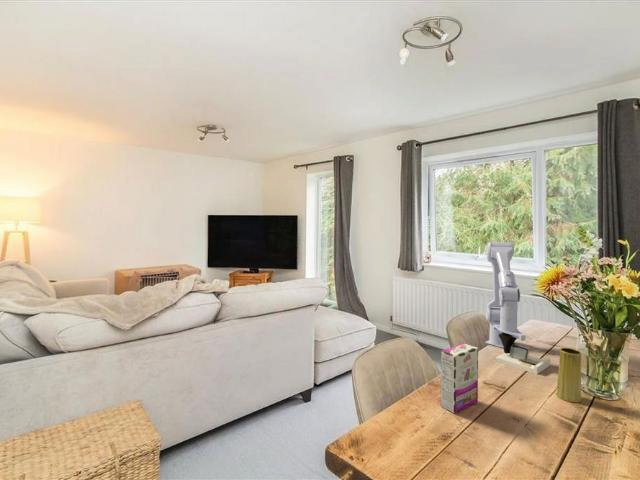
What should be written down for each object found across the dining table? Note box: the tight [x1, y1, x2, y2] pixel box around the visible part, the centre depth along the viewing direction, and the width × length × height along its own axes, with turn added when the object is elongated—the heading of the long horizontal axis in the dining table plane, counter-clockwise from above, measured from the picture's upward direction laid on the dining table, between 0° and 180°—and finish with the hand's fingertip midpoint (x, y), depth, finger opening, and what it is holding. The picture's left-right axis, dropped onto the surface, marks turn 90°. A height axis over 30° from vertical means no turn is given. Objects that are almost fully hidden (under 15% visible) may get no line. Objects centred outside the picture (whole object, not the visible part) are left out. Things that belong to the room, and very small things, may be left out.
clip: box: [510, 342, 530, 362], centre depth 128 cm, size 4×5×5 cm
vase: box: [556, 347, 582, 403], centre depth 102 cm, size 6×6×14 cm
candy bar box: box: [440, 343, 479, 415], centre depth 97 cm, size 11×5×16 cm, turn 123°
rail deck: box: [495, 352, 551, 375], centre depth 127 cm, size 12×14×2 cm
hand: (507, 353), depth 131 cm, fingers closed
